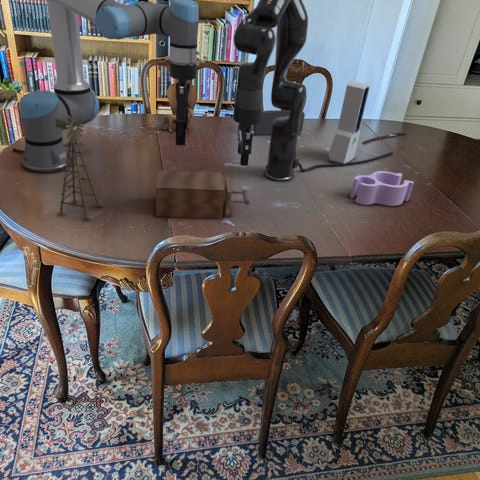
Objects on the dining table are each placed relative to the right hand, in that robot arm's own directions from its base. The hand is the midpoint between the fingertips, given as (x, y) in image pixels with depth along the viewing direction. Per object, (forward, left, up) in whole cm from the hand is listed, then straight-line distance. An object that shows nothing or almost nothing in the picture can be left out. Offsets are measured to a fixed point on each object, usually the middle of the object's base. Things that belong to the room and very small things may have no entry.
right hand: (242, 159), depth 136 cm
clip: (-46, +23, -17) cm, 54 cm away
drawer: (+7, -6, -16) cm, 18 cm away
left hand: (+8, -18, +2) cm, 20 cm away
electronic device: (-64, -5, -17) cm, 66 cm away
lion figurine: (-27, -64, -17) cm, 72 cm away
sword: (-102, -8, -17) cm, 104 cm away
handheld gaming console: (-63, -39, -17) cm, 76 cm away
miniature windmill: (+39, -27, -17) cm, 50 cm away
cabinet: (+12, -9, -17) cm, 23 cm away
